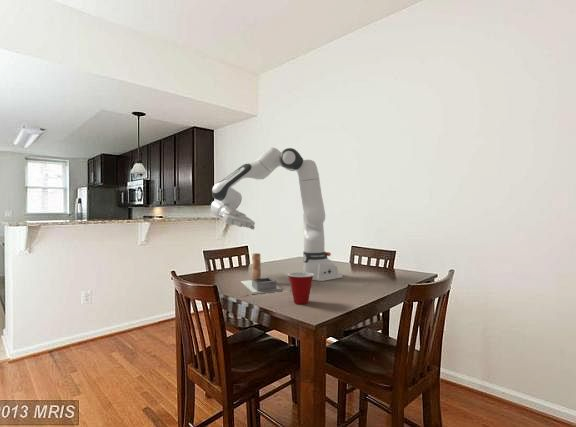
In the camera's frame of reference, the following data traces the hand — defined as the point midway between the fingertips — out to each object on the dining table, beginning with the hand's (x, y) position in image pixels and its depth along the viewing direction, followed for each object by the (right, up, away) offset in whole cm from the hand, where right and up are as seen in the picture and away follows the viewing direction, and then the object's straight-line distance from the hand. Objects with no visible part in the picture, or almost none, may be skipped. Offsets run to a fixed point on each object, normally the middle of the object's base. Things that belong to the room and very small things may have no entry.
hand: (247, 226), depth 169 cm
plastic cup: (+26, -30, -35) cm, 53 cm away
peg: (+5, -27, -6) cm, 28 cm away
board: (+8, -29, -11) cm, 32 cm away
